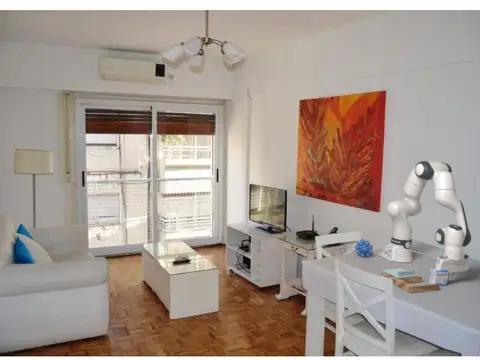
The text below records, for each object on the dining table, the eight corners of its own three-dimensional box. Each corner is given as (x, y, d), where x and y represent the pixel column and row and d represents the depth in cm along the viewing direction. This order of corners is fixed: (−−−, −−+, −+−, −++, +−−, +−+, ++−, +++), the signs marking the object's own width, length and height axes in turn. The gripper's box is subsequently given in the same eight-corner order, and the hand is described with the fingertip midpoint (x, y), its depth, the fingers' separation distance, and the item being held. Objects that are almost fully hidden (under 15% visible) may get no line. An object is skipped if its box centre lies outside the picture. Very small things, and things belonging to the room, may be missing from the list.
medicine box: (434, 286, 235) (435, 270, 234) (428, 283, 239) (430, 268, 238) (447, 285, 237) (448, 270, 236) (441, 282, 241) (442, 267, 240)
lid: (383, 271, 248) (383, 266, 247) (401, 269, 252) (401, 264, 252) (398, 278, 236) (398, 273, 236) (417, 276, 240) (417, 271, 240)
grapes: (355, 258, 283) (356, 240, 282) (353, 255, 290) (354, 237, 289) (373, 259, 283) (375, 241, 281) (371, 256, 289) (372, 238, 288)
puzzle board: (380, 278, 245) (381, 272, 245) (406, 275, 252) (407, 270, 251) (411, 293, 223) (411, 287, 223) (439, 290, 229) (439, 284, 229)
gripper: (442, 257, 233) (440, 283, 234) (471, 255, 240) (469, 280, 241) (433, 254, 238) (431, 279, 240) (462, 252, 246) (460, 276, 247)
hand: (450, 279), depth 241 cm, fingers closed
